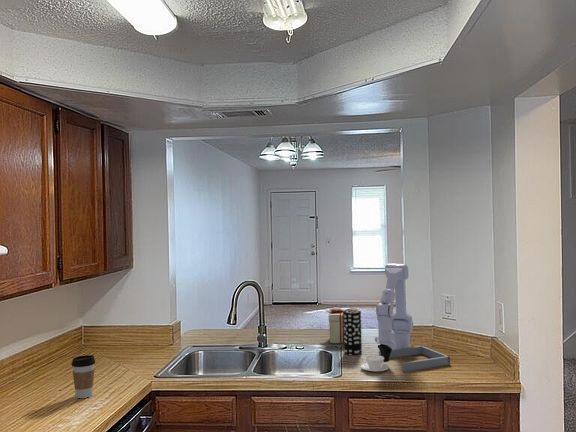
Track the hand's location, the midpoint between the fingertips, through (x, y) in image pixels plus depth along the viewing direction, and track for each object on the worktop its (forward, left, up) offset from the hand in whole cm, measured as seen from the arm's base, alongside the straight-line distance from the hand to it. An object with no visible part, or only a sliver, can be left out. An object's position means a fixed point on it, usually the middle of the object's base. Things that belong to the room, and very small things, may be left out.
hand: (385, 361), depth 218 cm
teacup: (+3, -7, -2) cm, 8 cm away
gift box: (-49, +4, -2) cm, 49 cm away
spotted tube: (-24, -3, -2) cm, 24 cm away
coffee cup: (-15, -123, -2) cm, 124 cm away
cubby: (0, +14, -2) cm, 14 cm away
